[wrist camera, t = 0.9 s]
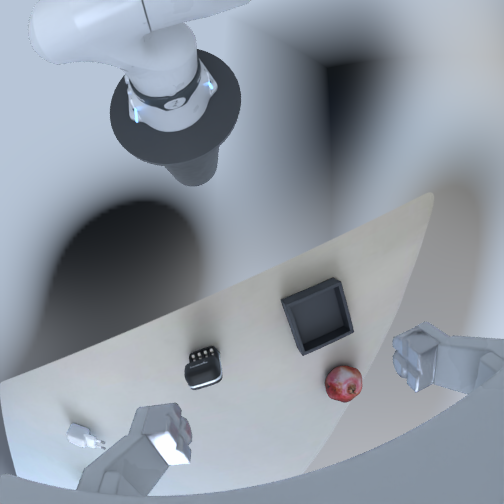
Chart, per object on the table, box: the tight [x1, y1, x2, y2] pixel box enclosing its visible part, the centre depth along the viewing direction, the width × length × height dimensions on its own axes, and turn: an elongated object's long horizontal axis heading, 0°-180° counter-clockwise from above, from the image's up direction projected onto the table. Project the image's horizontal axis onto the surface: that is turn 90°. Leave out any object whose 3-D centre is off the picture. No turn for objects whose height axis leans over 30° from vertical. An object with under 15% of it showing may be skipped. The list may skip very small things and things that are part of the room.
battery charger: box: [185, 346, 222, 390], centre depth 54 cm, size 7×4×11 cm, turn 110°
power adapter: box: [67, 423, 106, 450], centre depth 56 cm, size 11×5×6 cm, turn 76°
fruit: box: [325, 366, 362, 402], centre depth 60 cm, size 9×10×10 cm
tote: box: [281, 278, 354, 356], centre depth 60 cm, size 13×13×4 cm
